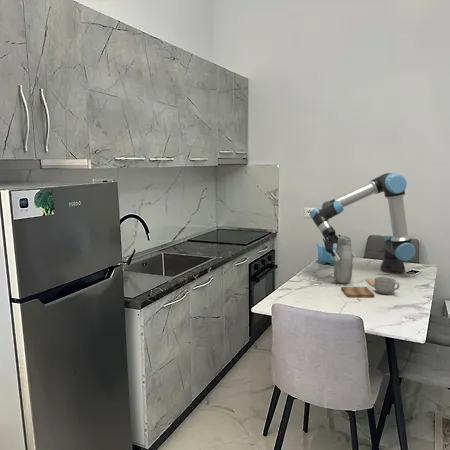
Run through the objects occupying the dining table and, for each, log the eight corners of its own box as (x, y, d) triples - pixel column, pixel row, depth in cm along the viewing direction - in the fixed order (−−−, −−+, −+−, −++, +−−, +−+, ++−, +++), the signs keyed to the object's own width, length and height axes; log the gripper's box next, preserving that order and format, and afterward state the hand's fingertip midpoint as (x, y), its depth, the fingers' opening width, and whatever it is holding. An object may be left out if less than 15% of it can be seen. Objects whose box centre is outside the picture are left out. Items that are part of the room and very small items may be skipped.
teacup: (369, 291, 228) (370, 277, 227) (384, 288, 233) (385, 274, 232) (388, 298, 216) (389, 283, 215) (404, 295, 220) (404, 281, 219)
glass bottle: (349, 286, 237) (351, 238, 233) (331, 283, 242) (333, 236, 238) (353, 282, 246) (355, 235, 242) (336, 279, 251) (337, 234, 247)
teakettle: (347, 266, 284) (348, 245, 282) (320, 266, 283) (321, 245, 281) (339, 260, 302) (340, 240, 300) (313, 260, 302) (314, 240, 300)
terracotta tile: (385, 280, 248) (385, 279, 248) (393, 286, 236) (393, 285, 236) (365, 280, 248) (365, 279, 248) (371, 286, 237) (372, 284, 236)
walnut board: (366, 289, 231) (366, 287, 231) (374, 297, 217) (374, 294, 217) (341, 289, 231) (341, 286, 231) (347, 297, 217) (347, 294, 217)
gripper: (337, 232, 260) (355, 259, 250) (309, 236, 246) (327, 265, 236) (344, 224, 255) (363, 252, 245) (316, 228, 241) (335, 258, 231)
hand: (346, 259), depth 240 cm, fingers open, 13 cm apart
